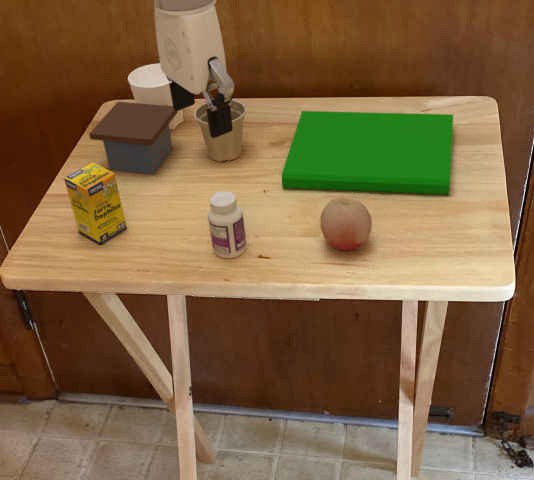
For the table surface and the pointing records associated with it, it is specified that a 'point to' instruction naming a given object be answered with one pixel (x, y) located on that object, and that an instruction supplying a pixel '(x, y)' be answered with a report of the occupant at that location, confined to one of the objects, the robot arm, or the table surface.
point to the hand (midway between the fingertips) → (202, 120)
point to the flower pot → (227, 143)
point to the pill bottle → (226, 225)
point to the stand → (136, 136)
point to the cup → (153, 89)
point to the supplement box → (96, 203)
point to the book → (371, 152)
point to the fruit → (345, 224)
